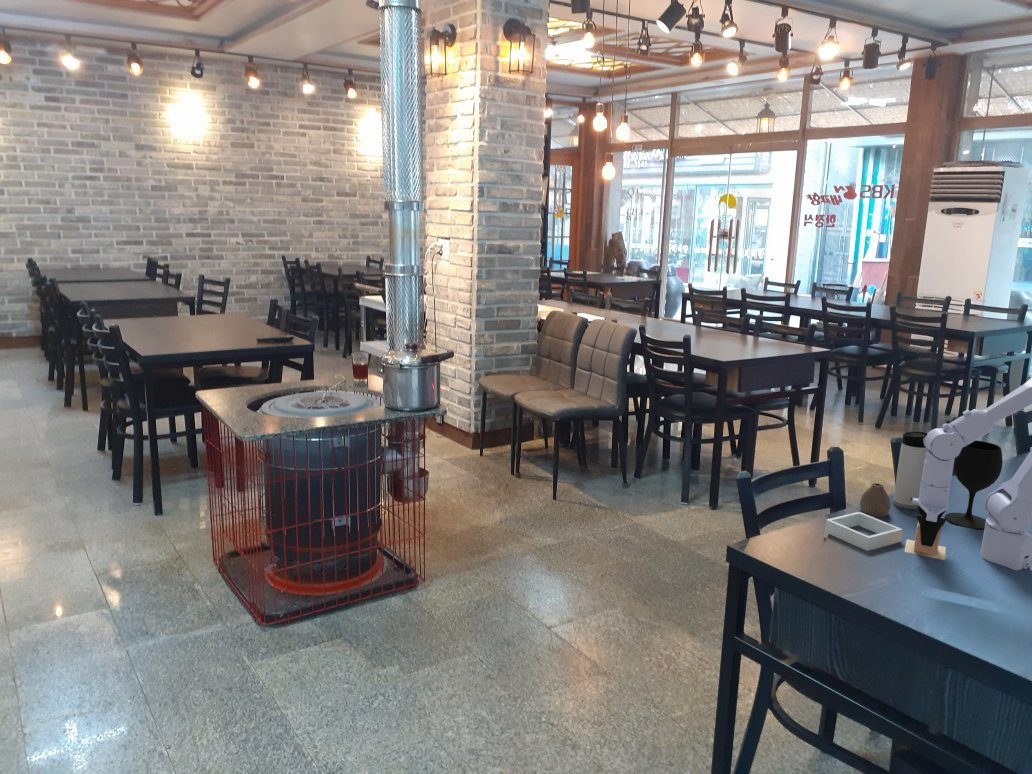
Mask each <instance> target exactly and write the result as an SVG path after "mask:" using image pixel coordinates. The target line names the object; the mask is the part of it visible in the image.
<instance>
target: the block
mask: <svg viewBox="0 0 1032 774" xmlns="http://www.w3.org/2000/svg"><path fill="white" fill-rule="evenodd" d="M941 532H942V527H941V528H940V530H939V531H938V533H937V536H936V538H935V541H934V543H933V545H932V547H929V546H924V545H921V533H920V525H919V522H918V521H917V526H916V531H915V537H914V541H915V544H914V551H918V552H923V553H928V554H933V555H937V550H938V546H939V542H940V537H941Z"/></svg>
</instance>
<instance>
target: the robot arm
mask: <svg viewBox="0 0 1032 774" xmlns="http://www.w3.org/2000/svg"><path fill="white" fill-rule="evenodd" d="M1031 405H1032V377H1030V378H1029V379H1028V380H1027V381H1026V382H1024V383H1023V384H1022V385H1020V386H1019V387H1017V388H1015V390H1012V391H1011V392H1009V393H1008V394H1006V395H1005V396H1003V397H1002V398H1000V399H998V400H997V401H996V402H994V403H993V404H991V405H989V406H988V407H986V408H985V409H977V408H974V409H973V408H972V410H969V409H966V410H964V411H962V414H963V415H962V416H959V417H957V418H956V419H954V420H953V421H951V422H949V423H946V422H945V423H943V424H942V425H941V426H942V427H940V428H937V427H936V428H933V429H931V430H929V432H927V433H928V434H927V436H926V437H925V438H924V439H923V442H924V445H925V447H926V448H927V450H926V456H925V461H924V466H923V473H922V479H921V486H920V493H919V498H913V500H912V503H915V504H918V505H917V507H918V508H917V509H918V512H916V519H917V523H918V522H919V525H920V533H921V545H924V546H929V547H932V545H933V543H934V541H935V538H936V536H937V533H938V531H939V530H940V528H941V529H942V527H943V526H944V524H945V523H946V522H947V521H946V519H945V518H944V517H943V516H944V515H945V513H946V511H947V510H948V509H949V504H948V503H949V497H950V490H951V487H952V486H951V485H952V479H953V473H954V469H953V467H954V466H953V465H954V458H955V457H957V456H958V455H959V454H960V452H961V449H962V448H963V447H965V446H966V445H969V444H970V443H972V442H974V441H978V440H979V439H981V438H983V437H984V436H986V435H987V434H989V433H991V432H992V431H993V428H994V426H995V424H996V423H998V422H1000V421H1001V420H1004V419H1005V418H1008V417H1010V416H1012V415H1013V414H1015V413H1017V412H1019V411H1021V410H1023V409H1025V408H1028V407H1029V406H1031ZM984 509H985V510H986V512H987V513H988V516H987V518H985V519H986V523H985V529H984V530H983V535H982V540H981V541H982V542H981V547H980V552H979V555H980V556H981V558H983V559H984V560H985V561H988V562H990V563H994V564H996V565H997V564H998V565H1001V566H1003V567H1006V568H1008V569H1011V570H1012V571H1013V570H1014V571H1020V570H1021V571H1022V570H1023V569H1025V570H1027V569H1028V568H1029V569H1030V572H1032V534H1030V533H1028V532H1026V530H1025V529H1027V528H1028V527H1029V526H1030V524H1031V522H1032V449H1031V450H1030V452H1029V453H1028V454H1027V456H1026V458H1025V459H1024V460H1023V461H1022V462H1021V465H1020V466H1019V468H1018V469H1017V470H1016V471H1015V473H1014V475H1013V476H1012V478H1011V479H1010V480H1007V481H1004V482H1002V483H1001V484H1000V485H999V487H998V488H996V489H995V490H994V491H992V492H990V493H988V495H987V496H986V497H985V500H984Z"/></svg>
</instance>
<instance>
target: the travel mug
mask: <svg viewBox="0 0 1032 774" xmlns="http://www.w3.org/2000/svg"><path fill="white" fill-rule="evenodd" d="M928 433H929V432H924V431H906V432H904V433H903V434H902V440H901V445H900V451H899V458H898V464H897V465H898V466H897V472H896V478H895V485H894V493H893V500H892V503H893V505H894V506H896V507H898V508H900V509H905V510H917V509H918V507H917V505H918V504H915V503H912V500H913V498H919V493H920V486H921V479H922V473H923V466H924V461H925V456H926V450H927V448H926V447H925V445H924V442H923V439H924V438H925V437H926V436H927V434H928Z"/></svg>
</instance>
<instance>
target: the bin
mask: <svg viewBox="0 0 1032 774" xmlns="http://www.w3.org/2000/svg"><path fill="white" fill-rule="evenodd" d="M857 526H858V527H861V528H864V529H866V530H868V531H871V532H873V533H874V534H871V535H867V534H864V533H862V532H860V531H857V530H855V529H852V527H857ZM823 533H824V534H823V538H824V539H828V537H829V535H830V536H833V537H836V538H837V539H840V540H842V541H844V542H846V543H849V544H850V545H852V546H855V547H858V548H859V549H862V550H865V551H867V552H869V551H873V550H877V549H880V548H883V547H887V546H891V545H895V544H898V543H901V542H902V538H903V529H902V528H901V527H898V526H895V525H894V524H890V523H889V522H885V521H883V520H881V519H878V518H877V517H876V518H875V517H874V516H869V515H866V514H864V513H862V512H861V511H856V512H853V513H848V514H844V515H841V516H840V515H839V516H836V517H831V518H827V519H825V526H824V532H823Z"/></svg>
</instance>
